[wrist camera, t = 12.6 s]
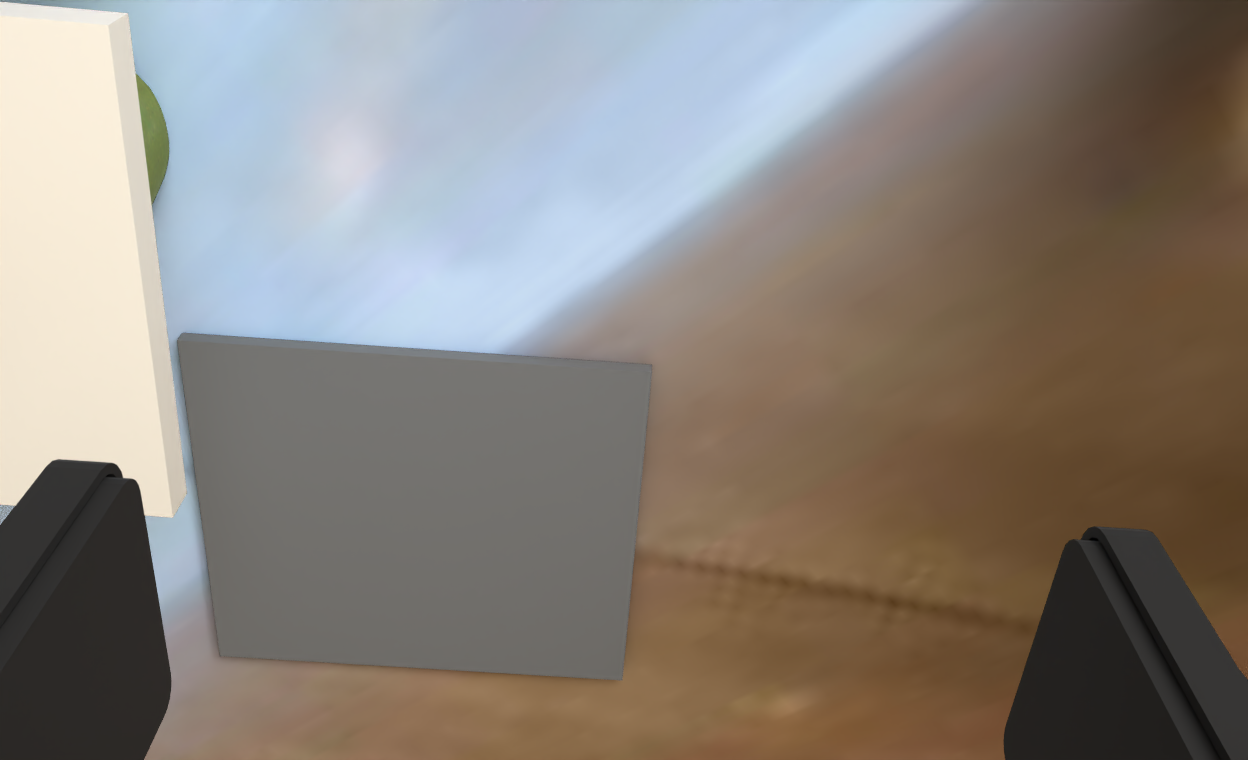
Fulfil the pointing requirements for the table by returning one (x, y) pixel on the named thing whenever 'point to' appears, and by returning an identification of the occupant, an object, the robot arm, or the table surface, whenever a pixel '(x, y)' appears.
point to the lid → (79, 260)
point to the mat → (417, 503)
